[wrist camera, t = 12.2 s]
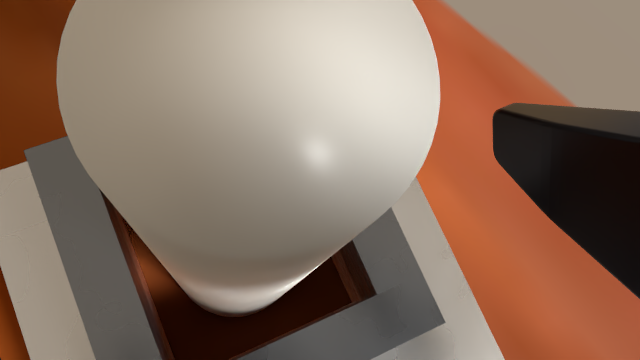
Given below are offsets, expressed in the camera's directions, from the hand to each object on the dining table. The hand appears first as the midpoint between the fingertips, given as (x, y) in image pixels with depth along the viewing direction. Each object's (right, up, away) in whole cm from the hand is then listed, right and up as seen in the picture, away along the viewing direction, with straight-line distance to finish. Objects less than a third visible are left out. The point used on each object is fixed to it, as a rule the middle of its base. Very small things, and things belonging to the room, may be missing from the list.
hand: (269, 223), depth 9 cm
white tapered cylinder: (-2, -2, +10) cm, 10 cm away
